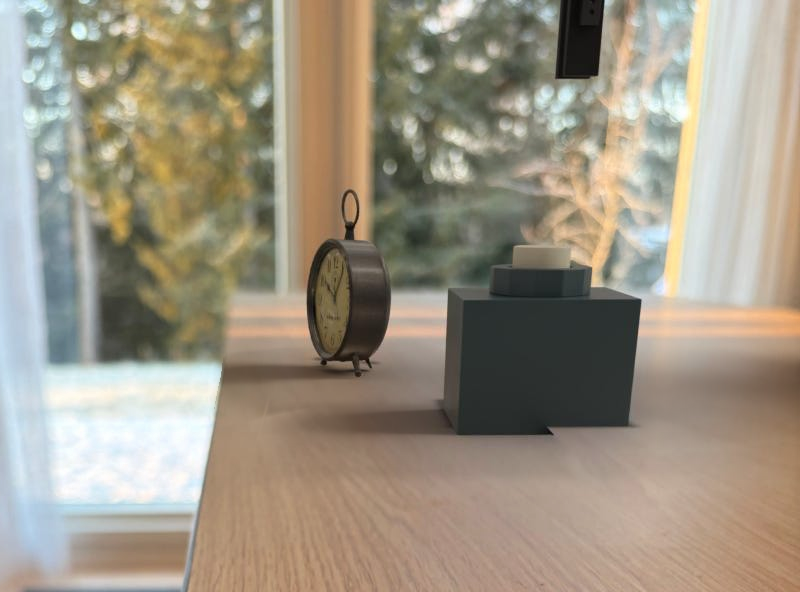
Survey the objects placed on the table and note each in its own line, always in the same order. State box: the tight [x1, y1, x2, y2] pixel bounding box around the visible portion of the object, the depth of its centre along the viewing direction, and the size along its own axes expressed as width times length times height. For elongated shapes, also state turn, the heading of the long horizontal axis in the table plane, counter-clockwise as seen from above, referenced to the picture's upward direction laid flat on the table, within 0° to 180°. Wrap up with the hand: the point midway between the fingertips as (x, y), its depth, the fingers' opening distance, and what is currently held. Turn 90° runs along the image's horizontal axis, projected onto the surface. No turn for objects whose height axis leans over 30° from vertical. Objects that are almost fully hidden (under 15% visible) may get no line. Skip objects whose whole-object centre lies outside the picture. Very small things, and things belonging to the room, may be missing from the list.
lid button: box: [512, 244, 572, 269], centre depth 75 cm, size 4×4×2 cm
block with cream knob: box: [442, 263, 643, 436], centre depth 77 cm, size 12×10×11 cm
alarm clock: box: [305, 188, 392, 378], centre depth 99 cm, size 11×5×16 cm, turn 22°
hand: (576, 76), depth 85 cm, fingers closed
